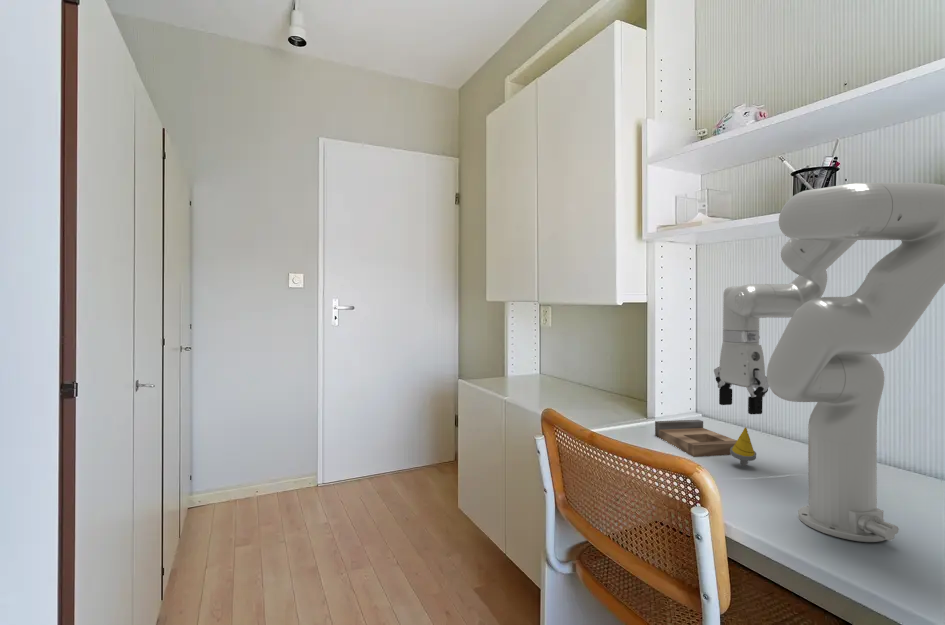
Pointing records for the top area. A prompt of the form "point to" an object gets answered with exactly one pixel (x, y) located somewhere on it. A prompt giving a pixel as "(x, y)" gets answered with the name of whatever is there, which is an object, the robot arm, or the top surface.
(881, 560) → the top surface
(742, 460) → the drill bit
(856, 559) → the top surface
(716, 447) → the jig
